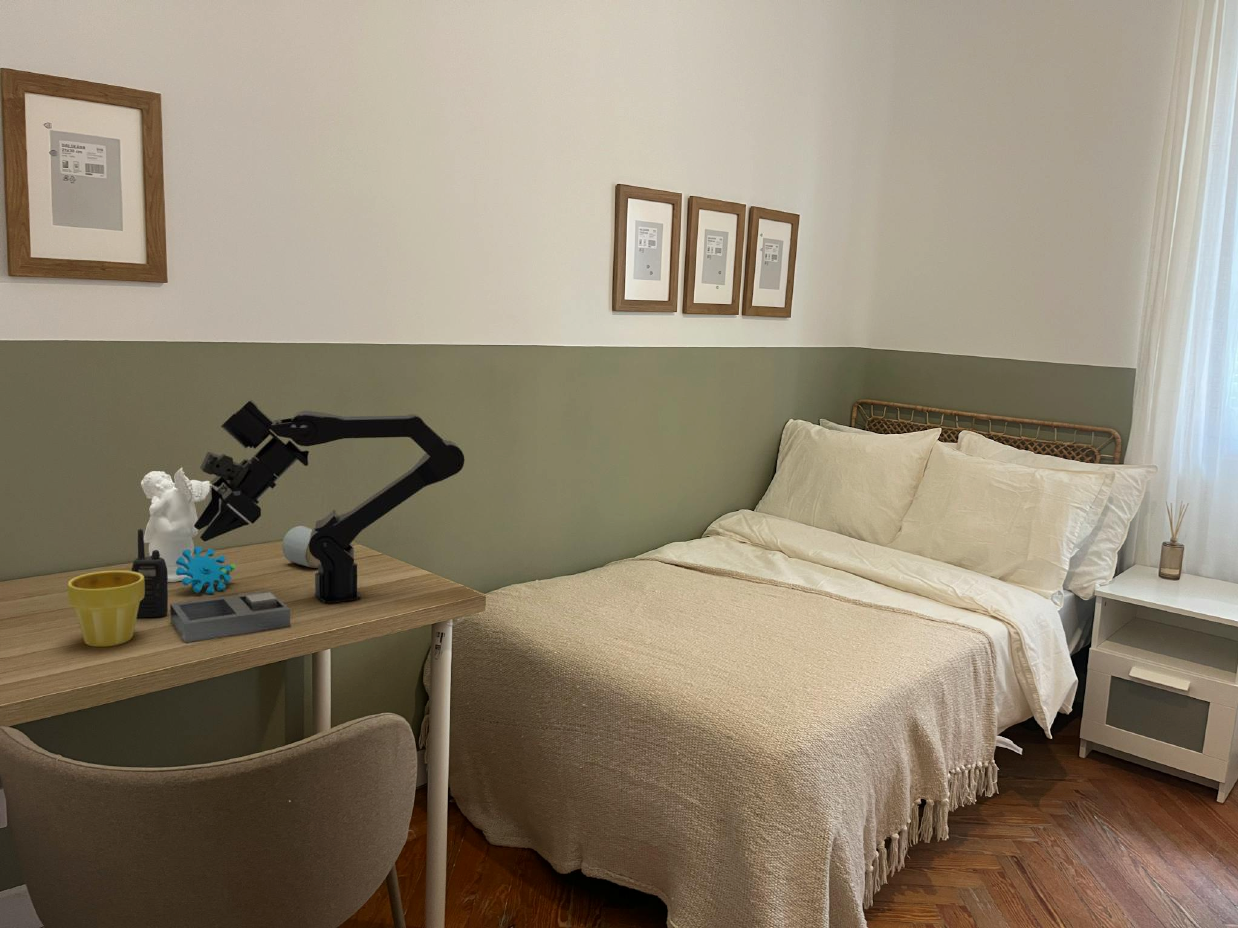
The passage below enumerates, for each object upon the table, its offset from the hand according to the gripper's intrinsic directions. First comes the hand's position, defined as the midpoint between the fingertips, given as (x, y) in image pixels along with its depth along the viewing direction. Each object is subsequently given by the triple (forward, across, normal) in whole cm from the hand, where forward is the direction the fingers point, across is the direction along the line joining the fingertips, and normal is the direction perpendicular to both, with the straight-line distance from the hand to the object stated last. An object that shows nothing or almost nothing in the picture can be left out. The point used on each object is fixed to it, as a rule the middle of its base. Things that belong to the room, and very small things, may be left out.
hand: (198, 533), depth 159 cm
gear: (+8, -12, +11) cm, 18 cm away
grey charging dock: (+7, +10, +12) cm, 17 cm away
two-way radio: (+15, 0, +4) cm, 15 cm away
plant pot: (+20, +11, 0) cm, 23 cm away
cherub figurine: (+10, -24, +9) cm, 27 cm away
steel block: (+4, +10, +15) cm, 19 cm away
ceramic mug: (-7, -23, +26) cm, 36 cm away
